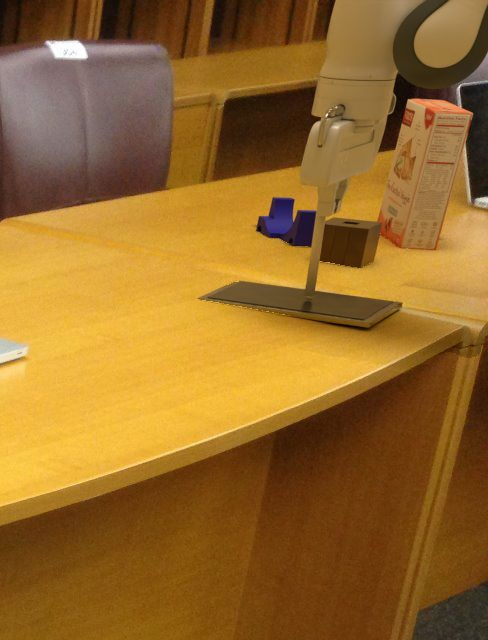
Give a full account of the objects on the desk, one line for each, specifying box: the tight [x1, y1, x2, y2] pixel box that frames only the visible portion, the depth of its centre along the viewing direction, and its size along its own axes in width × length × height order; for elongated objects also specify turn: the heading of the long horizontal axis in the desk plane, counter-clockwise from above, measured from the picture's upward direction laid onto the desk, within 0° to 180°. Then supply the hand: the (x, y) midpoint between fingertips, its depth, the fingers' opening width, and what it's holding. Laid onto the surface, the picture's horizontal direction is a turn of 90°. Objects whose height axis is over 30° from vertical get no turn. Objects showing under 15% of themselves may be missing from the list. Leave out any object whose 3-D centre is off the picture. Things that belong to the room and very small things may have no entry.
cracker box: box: [376, 98, 474, 251], centre depth 240 cm, size 14×6×21 cm, turn 170°
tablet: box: [197, 280, 403, 329], centre depth 205 cm, size 22×15×1 cm
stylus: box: [304, 203, 327, 300], centre depth 201 cm, size 1×1×14 cm
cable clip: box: [255, 196, 317, 247], centre depth 243 cm, size 12×4×6 cm, turn 178°
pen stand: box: [319, 216, 382, 269], centre depth 229 cm, size 7×7×6 cm
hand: (327, 214), depth 199 cm, fingers closed on stylus, 1 cm apart
